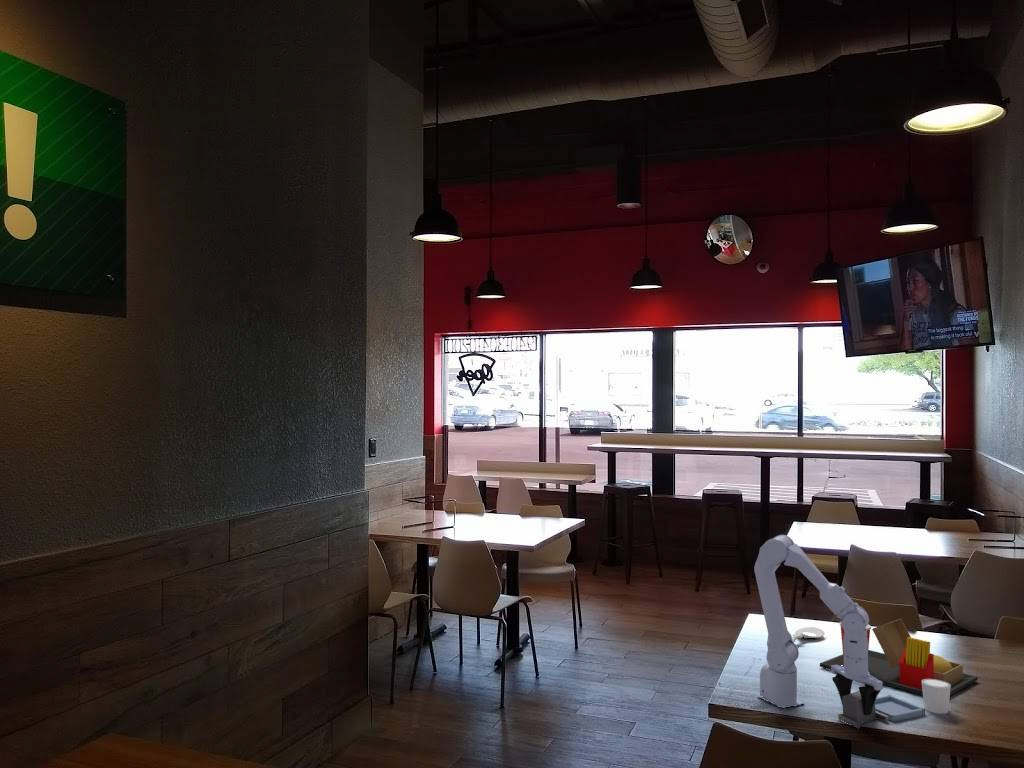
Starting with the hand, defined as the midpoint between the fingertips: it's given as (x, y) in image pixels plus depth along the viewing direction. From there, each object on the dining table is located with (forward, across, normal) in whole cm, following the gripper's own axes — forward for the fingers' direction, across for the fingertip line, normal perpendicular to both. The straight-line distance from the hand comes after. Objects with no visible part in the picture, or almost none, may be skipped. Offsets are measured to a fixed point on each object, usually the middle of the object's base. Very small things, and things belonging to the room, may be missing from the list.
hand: (856, 709), depth 200 cm
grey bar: (+2, -1, 0) cm, 2 cm away
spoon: (+2, +54, -35) cm, 65 cm away
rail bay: (+2, -2, 0) cm, 3 cm away
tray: (+2, 0, -12) cm, 12 cm away
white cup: (+2, -4, -24) cm, 25 cm away
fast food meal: (+3, +19, -38) cm, 43 cm away
